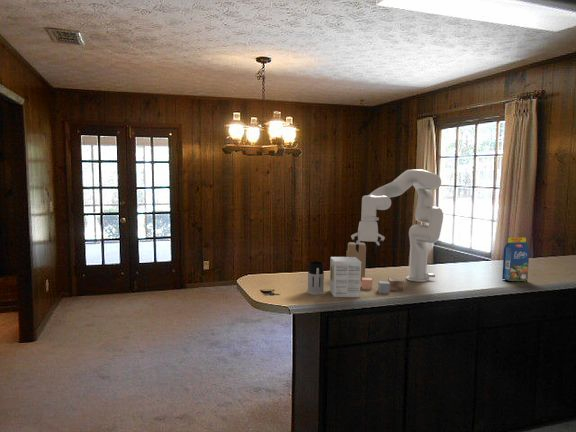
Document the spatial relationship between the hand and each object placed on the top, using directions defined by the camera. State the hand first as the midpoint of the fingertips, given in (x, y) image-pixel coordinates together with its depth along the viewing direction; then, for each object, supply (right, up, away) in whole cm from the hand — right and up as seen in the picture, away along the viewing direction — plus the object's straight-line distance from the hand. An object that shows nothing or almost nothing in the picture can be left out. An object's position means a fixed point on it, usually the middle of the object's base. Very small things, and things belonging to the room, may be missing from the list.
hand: (367, 252), depth 233 cm
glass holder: (-27, -20, -12) cm, 36 cm away
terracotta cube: (0, -19, +2) cm, 19 cm away
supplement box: (-13, -20, -11) cm, 26 cm away
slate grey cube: (+7, -20, -6) cm, 22 cm away
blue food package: (+89, -19, +25) cm, 95 cm away
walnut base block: (+15, -19, +1) cm, 25 cm away
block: (-2, -17, +27) cm, 32 cm away
